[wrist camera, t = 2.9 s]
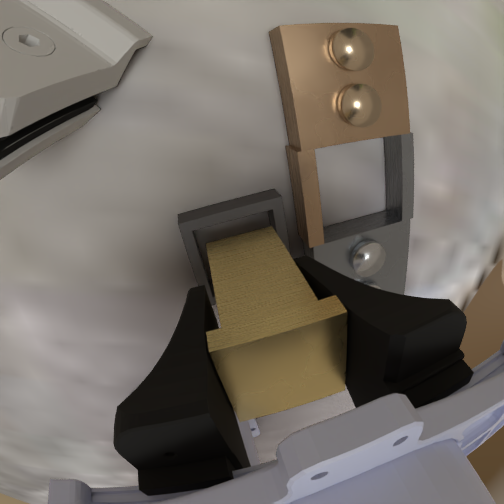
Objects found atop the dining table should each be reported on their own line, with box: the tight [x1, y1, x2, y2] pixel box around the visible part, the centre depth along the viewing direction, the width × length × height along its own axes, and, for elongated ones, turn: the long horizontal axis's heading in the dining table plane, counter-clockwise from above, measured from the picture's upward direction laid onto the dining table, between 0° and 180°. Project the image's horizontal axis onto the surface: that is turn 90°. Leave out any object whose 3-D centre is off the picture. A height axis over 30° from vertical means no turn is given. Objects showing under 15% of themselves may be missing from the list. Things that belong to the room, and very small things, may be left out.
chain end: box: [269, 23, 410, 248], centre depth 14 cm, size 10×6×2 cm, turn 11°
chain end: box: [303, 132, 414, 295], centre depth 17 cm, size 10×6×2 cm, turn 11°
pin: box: [206, 226, 347, 422], centre depth 12 cm, size 4×4×7 cm
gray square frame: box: [178, 189, 290, 306], centre depth 16 cm, size 5×5×1 cm
